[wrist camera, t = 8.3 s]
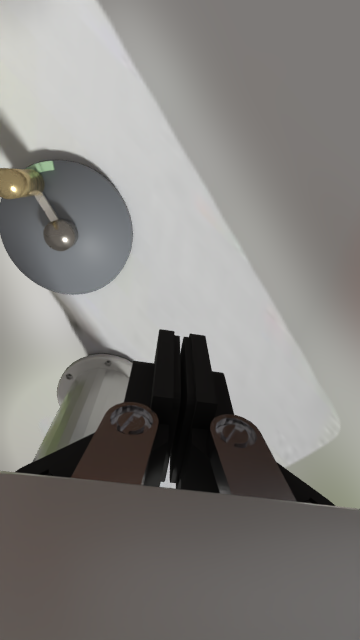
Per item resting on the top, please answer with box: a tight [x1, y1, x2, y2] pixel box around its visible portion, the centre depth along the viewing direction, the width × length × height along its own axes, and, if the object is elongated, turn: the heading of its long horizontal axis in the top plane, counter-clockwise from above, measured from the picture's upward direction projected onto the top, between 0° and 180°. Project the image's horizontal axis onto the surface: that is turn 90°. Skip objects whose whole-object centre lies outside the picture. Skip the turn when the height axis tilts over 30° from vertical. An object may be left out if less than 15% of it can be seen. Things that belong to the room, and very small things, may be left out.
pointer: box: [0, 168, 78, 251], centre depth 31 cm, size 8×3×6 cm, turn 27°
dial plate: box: [0, 160, 133, 295], centre depth 36 cm, size 14×14×2 cm
